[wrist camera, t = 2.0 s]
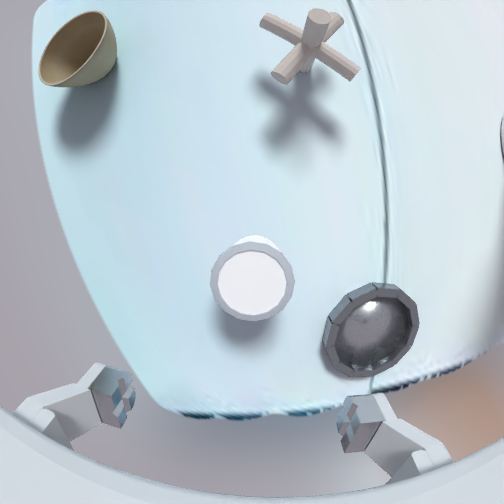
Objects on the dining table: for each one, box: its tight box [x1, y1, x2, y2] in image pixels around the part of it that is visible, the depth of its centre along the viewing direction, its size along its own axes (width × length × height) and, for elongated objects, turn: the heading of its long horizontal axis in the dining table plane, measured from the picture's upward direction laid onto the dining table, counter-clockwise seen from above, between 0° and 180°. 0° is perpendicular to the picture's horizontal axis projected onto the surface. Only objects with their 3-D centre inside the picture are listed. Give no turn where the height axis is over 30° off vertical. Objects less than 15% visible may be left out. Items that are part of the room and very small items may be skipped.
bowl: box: [323, 283, 419, 377], centre depth 29 cm, size 12×12×2 cm
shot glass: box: [210, 235, 295, 321], centre depth 25 cm, size 7×7×7 cm
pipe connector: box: [260, 9, 361, 85], centre depth 19 cm, size 10×10×10 cm
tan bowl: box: [39, 11, 117, 87], centre depth 20 cm, size 10×10×7 cm
